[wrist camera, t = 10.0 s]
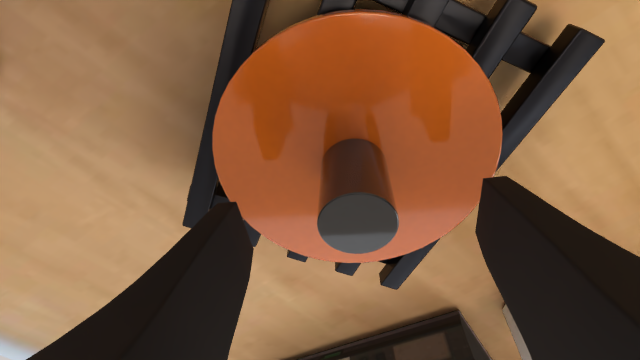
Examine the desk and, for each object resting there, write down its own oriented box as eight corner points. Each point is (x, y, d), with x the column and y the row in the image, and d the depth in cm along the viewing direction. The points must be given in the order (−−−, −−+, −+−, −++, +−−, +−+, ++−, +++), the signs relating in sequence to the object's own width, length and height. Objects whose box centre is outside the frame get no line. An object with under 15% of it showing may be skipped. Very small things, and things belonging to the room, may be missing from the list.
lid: (198, 205, 16) (157, 283, 12) (262, -56, 10) (221, -54, 6) (403, 269, 17) (420, 353, 14) (556, 81, 12) (650, 142, 8)
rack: (196, 191, 18) (177, 224, 16) (270, -124, 11) (254, -139, 9) (393, 254, 20) (400, 291, 18) (567, 26, 13) (611, 43, 11)
